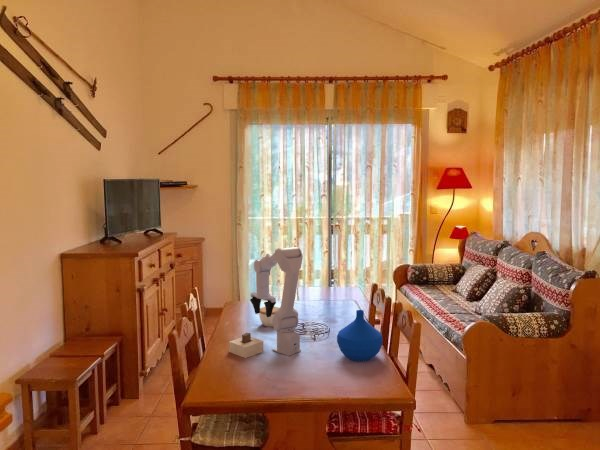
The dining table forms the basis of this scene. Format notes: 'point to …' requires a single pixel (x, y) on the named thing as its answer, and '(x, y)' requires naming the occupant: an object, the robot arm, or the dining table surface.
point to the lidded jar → (264, 319)
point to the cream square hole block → (246, 347)
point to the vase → (359, 339)
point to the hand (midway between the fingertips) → (263, 315)
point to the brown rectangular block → (246, 338)
